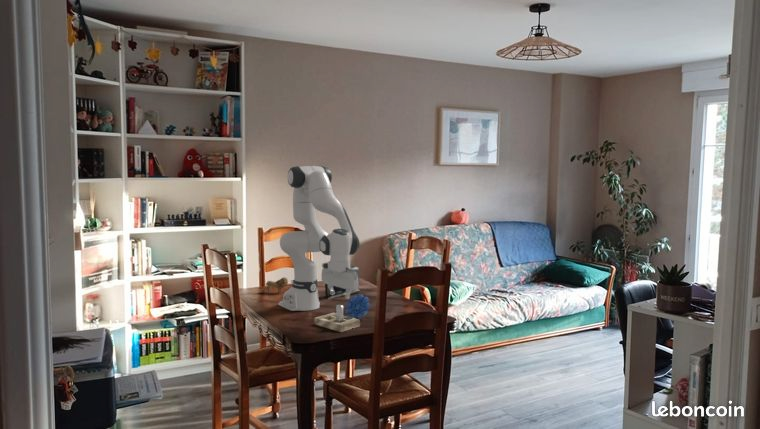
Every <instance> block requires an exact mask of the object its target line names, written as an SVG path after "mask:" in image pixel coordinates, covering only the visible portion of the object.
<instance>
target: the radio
mask: <svg viewBox="0 0 760 429" xmlns="http://www.w3.org/2000/svg"><path fill="white" fill-rule="evenodd" d="M350 268H351V269H355V271H356V272H357V275H358V282H359V283H360V273H359V270H360V269H359V267H357V266H354V265H352V266H350ZM324 285H325V286H324V288H325V289H324V292H325V293H324V294H325V296H324V298H326V299H328V300H331V299H336V298H340V297H345V295H346V294H347V291H346V289H344V288H340V287H336V286H333V290H335V294H334V295H331V294H330V290H329V288H328V284H325V283H324ZM357 293H359V294H360V293H361V290H360V287H359V288H358V289H357V290H354V291H352V292H351V294H350V295H353V294H357Z"/></svg>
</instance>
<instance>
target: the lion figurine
mask: <svg viewBox="0 0 760 429" xmlns="http://www.w3.org/2000/svg"><path fill="white" fill-rule="evenodd" d="M288 283H289V281H288V278H287V277H281V278H280V279H278V280H277V281H272V280H268V281H266V283H265V286H264V289H263V290H262V291H261V292H265V291H266V292H267V293H268V294H271V292H270V289H272V288H273V289H277V292H278V294H279V295H282V293H283V292H282V289H284V288H285V287H287V286H288ZM271 287H272V288H271Z"/></svg>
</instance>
